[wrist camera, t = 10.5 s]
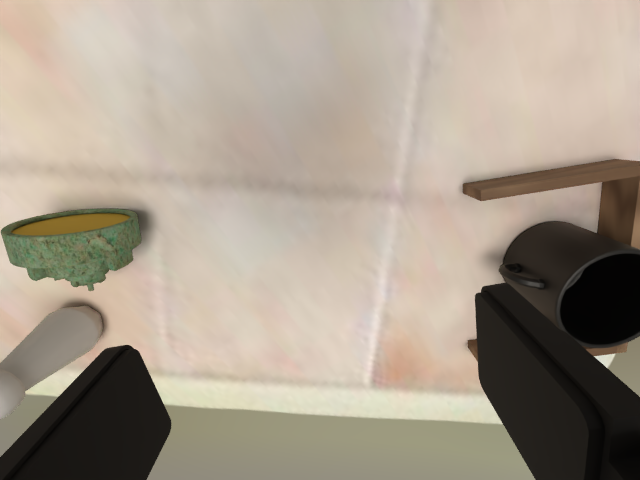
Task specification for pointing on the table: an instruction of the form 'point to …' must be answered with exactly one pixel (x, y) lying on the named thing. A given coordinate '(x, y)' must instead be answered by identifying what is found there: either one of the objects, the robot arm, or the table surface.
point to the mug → (578, 282)
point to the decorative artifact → (73, 244)
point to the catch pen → (617, 189)
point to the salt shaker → (47, 352)
